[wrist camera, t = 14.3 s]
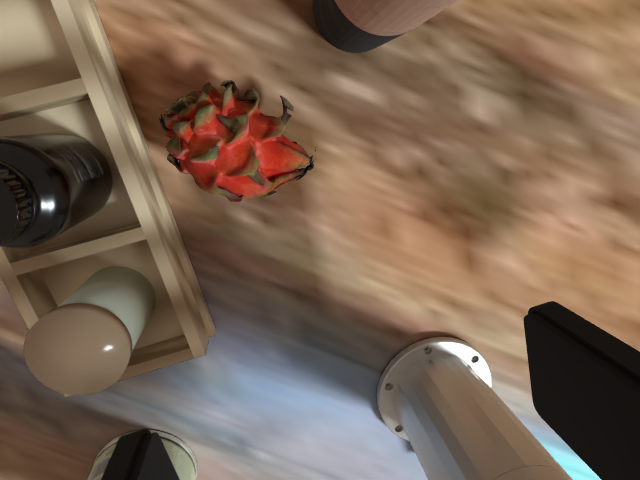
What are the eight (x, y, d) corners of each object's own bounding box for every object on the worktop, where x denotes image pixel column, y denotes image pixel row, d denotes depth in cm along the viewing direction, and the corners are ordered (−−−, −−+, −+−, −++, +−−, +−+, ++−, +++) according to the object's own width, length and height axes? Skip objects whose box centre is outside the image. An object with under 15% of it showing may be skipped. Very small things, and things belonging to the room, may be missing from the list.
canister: (168, 319, 37) (142, 378, 29) (97, 340, 37) (49, 407, 28) (142, 255, 35) (105, 297, 27) (67, 276, 35) (5, 326, 26)
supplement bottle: (13, 133, 31) (-128, 137, 20) (108, 132, 32) (27, 135, 21) (31, 221, 33) (-88, 272, 22) (120, 218, 34) (52, 264, 23)
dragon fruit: (165, 106, 35) (295, 152, 39) (138, 194, 32) (283, 234, 36) (179, 33, 28) (337, 100, 32) (146, 139, 25) (326, 197, 29)
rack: (215, 329, 39) (211, 352, 35) (79, 370, 38) (59, 399, 34) (62, -83, 29) (31, -116, 25) (-129, -41, 28) (-192, -69, 24)
